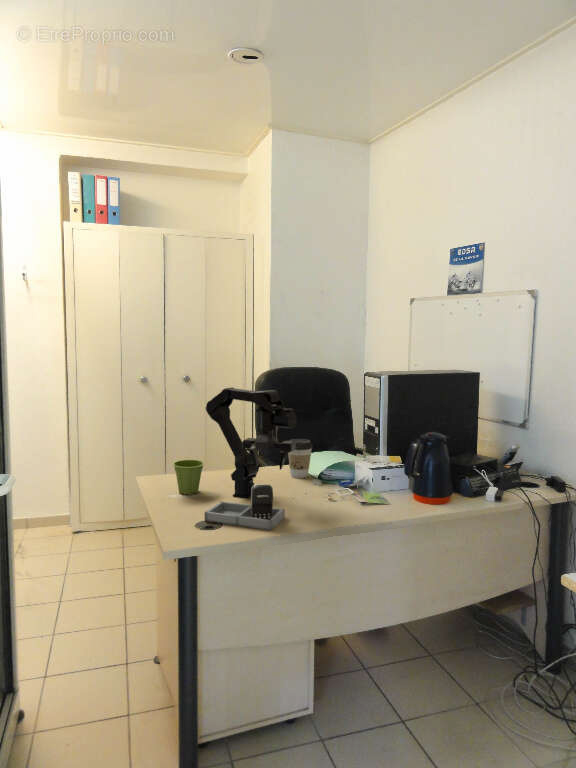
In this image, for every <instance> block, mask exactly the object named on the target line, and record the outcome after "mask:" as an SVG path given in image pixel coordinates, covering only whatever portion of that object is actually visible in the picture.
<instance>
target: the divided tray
mask: <svg viewBox="0 0 576 768" xmlns="http://www.w3.org/2000/svg"><path fill="white" fill-rule="evenodd" d="M284 519H285V508H280V507H279V508H278V507H272V518H271V519H270V520H267V519H259V518H252V504H246V503H235V502H231V501H230V502H228V501H220V502H218V503H216V504H215V505H214V506H212V507H210V508H209V509H208V510H206V511H204V522H205V521H209V522H208V523H212V522H217V523H216V524H219V523H222V524H221V525H226V524H228V525H227V526H235V527H241V528H249V529H255V530H262V531H269V532H270V531H273V530H274V529H273V528H274V527H275V528H276V527H277V526H278V525H279V524H280V523H281V522H282V521H284Z"/></svg>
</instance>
